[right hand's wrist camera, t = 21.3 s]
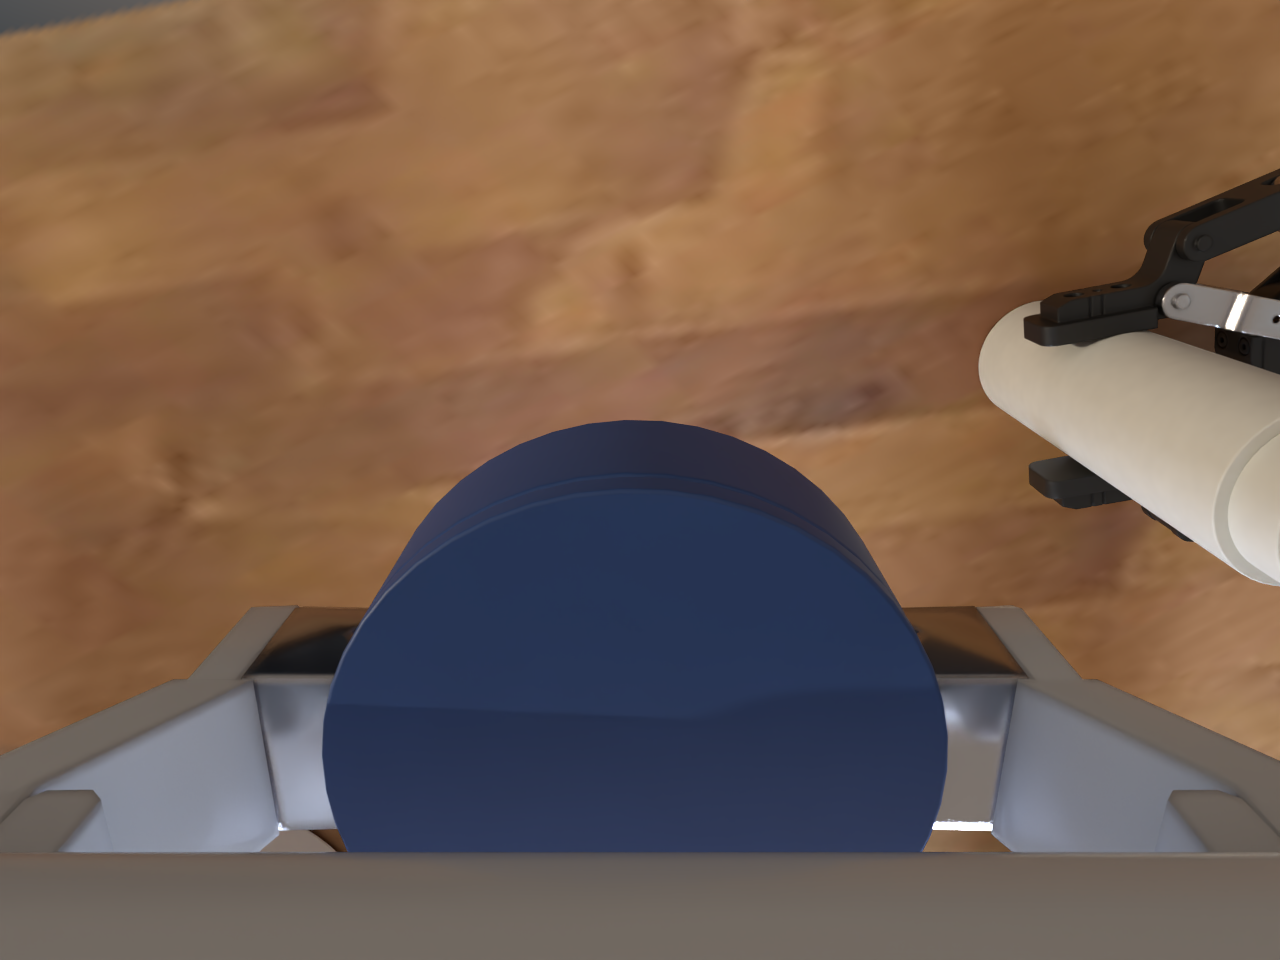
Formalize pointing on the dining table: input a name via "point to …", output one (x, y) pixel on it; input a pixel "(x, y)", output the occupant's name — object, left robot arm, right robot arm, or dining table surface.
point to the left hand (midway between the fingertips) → (1036, 409)
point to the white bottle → (1156, 429)
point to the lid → (635, 665)
